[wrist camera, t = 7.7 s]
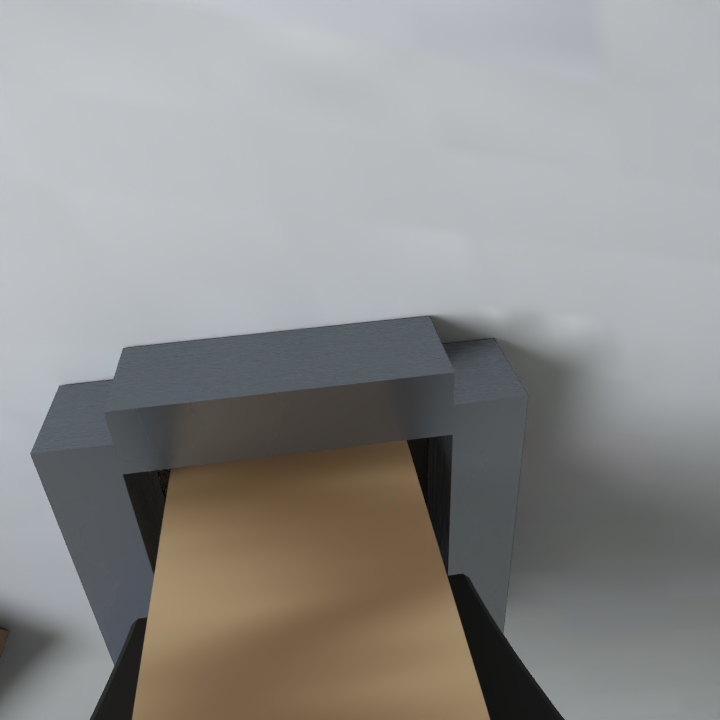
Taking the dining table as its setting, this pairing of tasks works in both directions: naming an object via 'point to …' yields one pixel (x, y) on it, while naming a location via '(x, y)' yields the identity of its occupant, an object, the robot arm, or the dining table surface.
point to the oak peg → (303, 595)
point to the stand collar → (3, 639)
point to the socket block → (282, 441)
